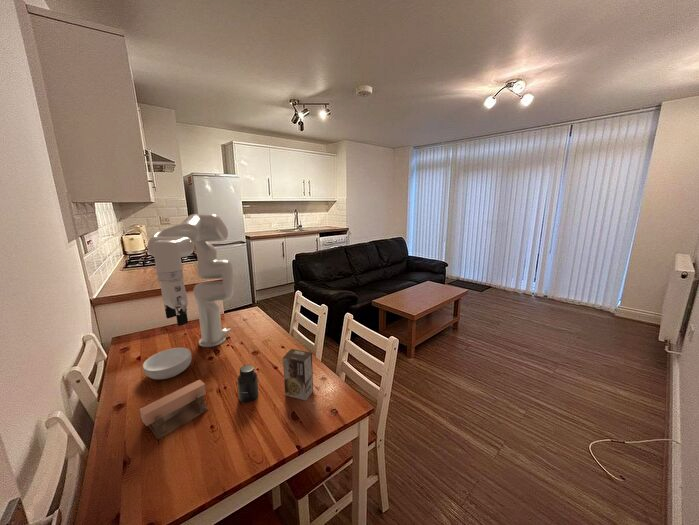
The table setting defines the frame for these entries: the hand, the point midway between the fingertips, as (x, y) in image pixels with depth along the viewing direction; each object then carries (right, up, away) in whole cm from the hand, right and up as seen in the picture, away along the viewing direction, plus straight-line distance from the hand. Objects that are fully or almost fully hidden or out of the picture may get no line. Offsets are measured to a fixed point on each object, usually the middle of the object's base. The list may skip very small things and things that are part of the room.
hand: (177, 320), depth 99 cm
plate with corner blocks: (+5, -31, -7) cm, 32 cm away
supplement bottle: (+25, -29, +2) cm, 39 cm away
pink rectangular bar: (+5, -27, -8) cm, 28 cm away
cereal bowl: (-13, -26, +16) cm, 33 cm away
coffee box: (+44, -29, +5) cm, 52 cm away
